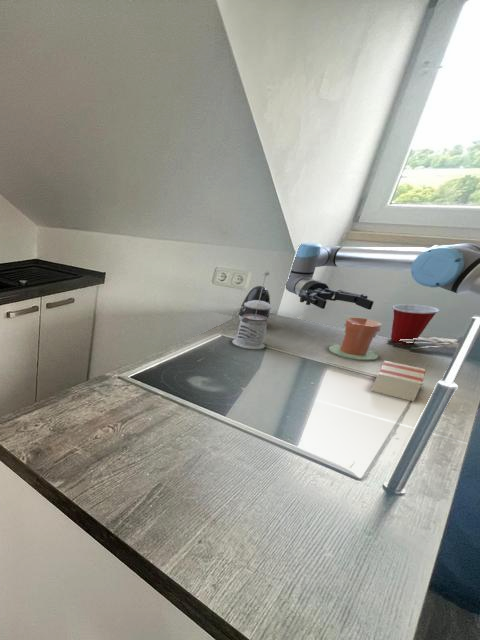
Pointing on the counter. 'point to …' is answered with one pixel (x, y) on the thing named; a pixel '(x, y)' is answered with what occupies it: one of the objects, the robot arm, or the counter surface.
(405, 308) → the plastic cup
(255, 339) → the french press
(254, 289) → the black rounded piece
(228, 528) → the counter surface
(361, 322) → the terracotta pot
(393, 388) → the box with red stripes
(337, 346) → the mat
